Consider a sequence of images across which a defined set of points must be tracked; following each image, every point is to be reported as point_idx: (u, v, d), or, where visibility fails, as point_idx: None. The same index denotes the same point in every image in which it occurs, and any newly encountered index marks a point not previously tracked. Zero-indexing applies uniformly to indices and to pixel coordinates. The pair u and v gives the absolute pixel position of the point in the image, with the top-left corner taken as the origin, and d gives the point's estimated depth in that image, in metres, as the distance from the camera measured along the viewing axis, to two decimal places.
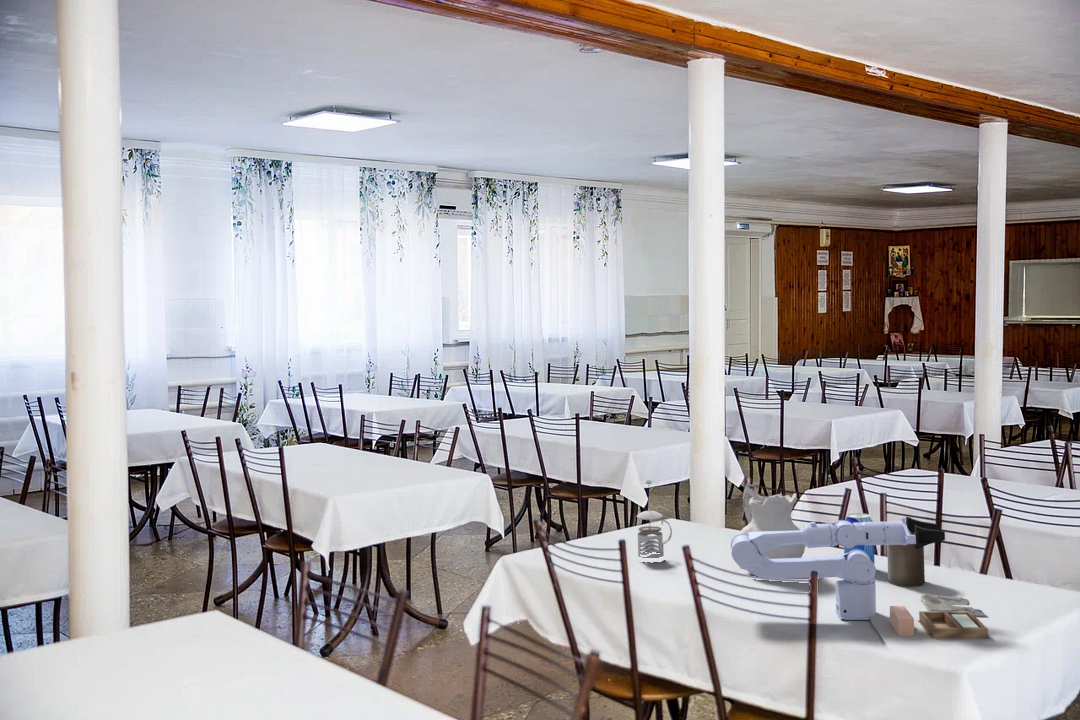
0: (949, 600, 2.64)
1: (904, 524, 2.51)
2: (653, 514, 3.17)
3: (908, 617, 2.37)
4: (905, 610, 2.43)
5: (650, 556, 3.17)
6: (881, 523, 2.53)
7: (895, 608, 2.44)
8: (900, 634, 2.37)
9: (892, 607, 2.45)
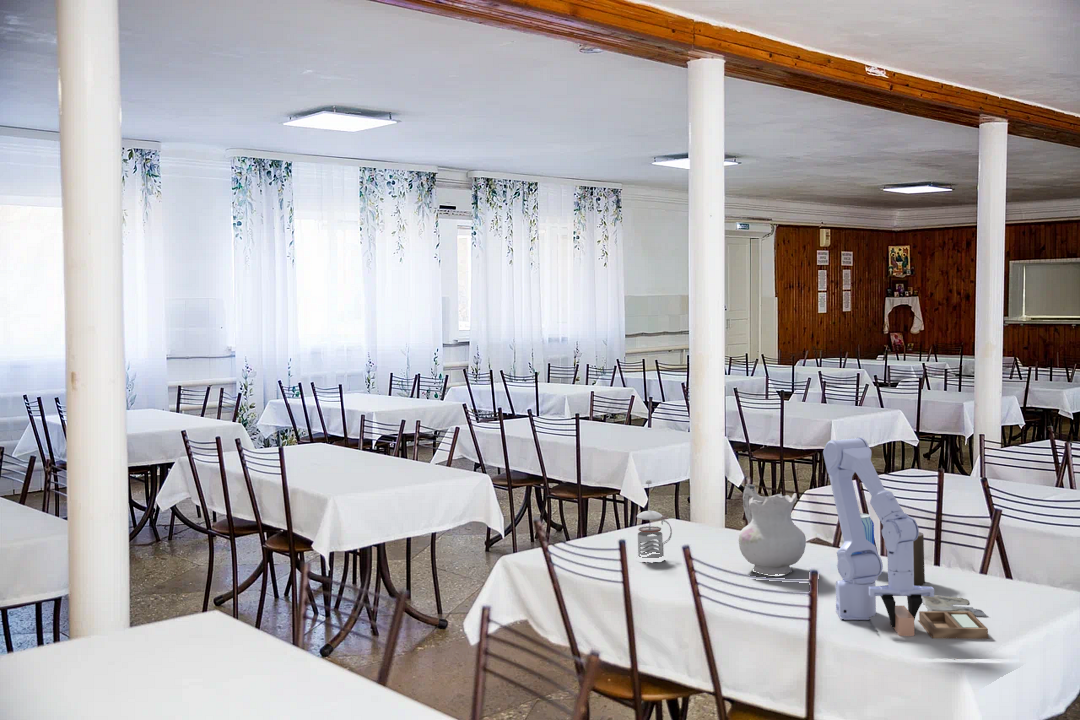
0: (949, 600, 2.64)
1: (894, 592, 2.39)
2: (653, 514, 3.17)
3: (908, 617, 2.37)
4: (905, 609, 2.43)
5: (650, 556, 3.17)
6: (905, 570, 2.38)
7: (895, 608, 2.44)
8: (900, 634, 2.37)
9: None
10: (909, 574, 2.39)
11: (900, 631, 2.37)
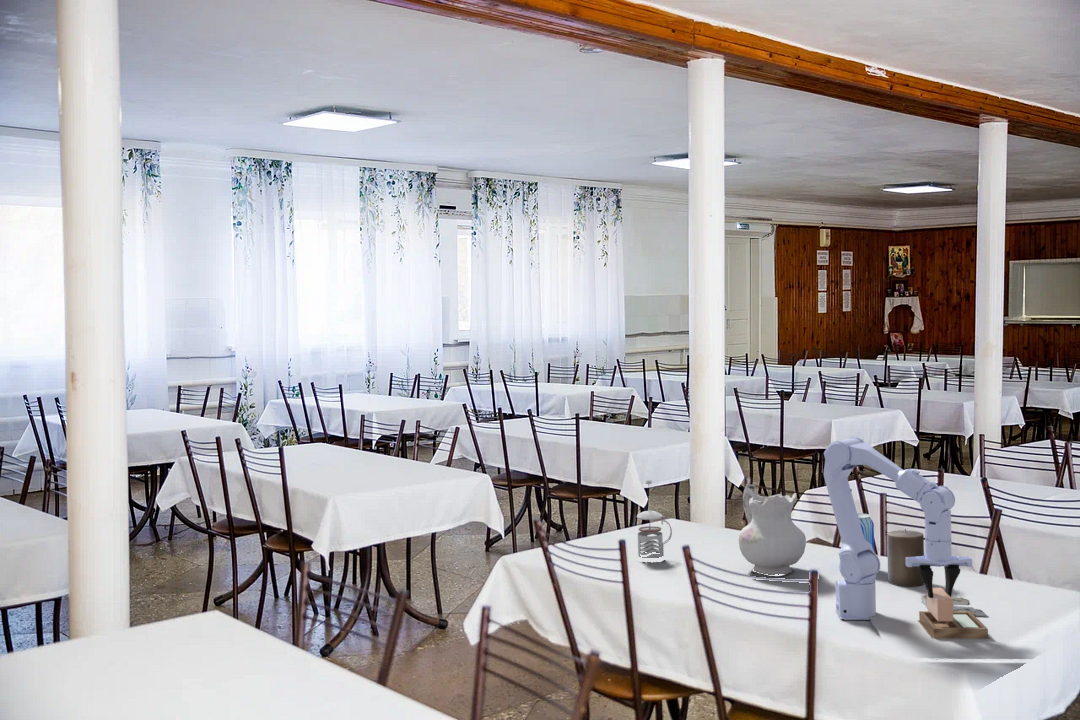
0: None
1: (932, 562, 2.38)
2: (653, 514, 3.17)
3: (947, 599, 2.35)
4: (943, 591, 2.42)
5: (650, 556, 3.17)
6: (947, 539, 2.37)
7: None
8: (939, 616, 2.35)
9: None
10: (947, 544, 2.37)
11: (939, 613, 2.35)
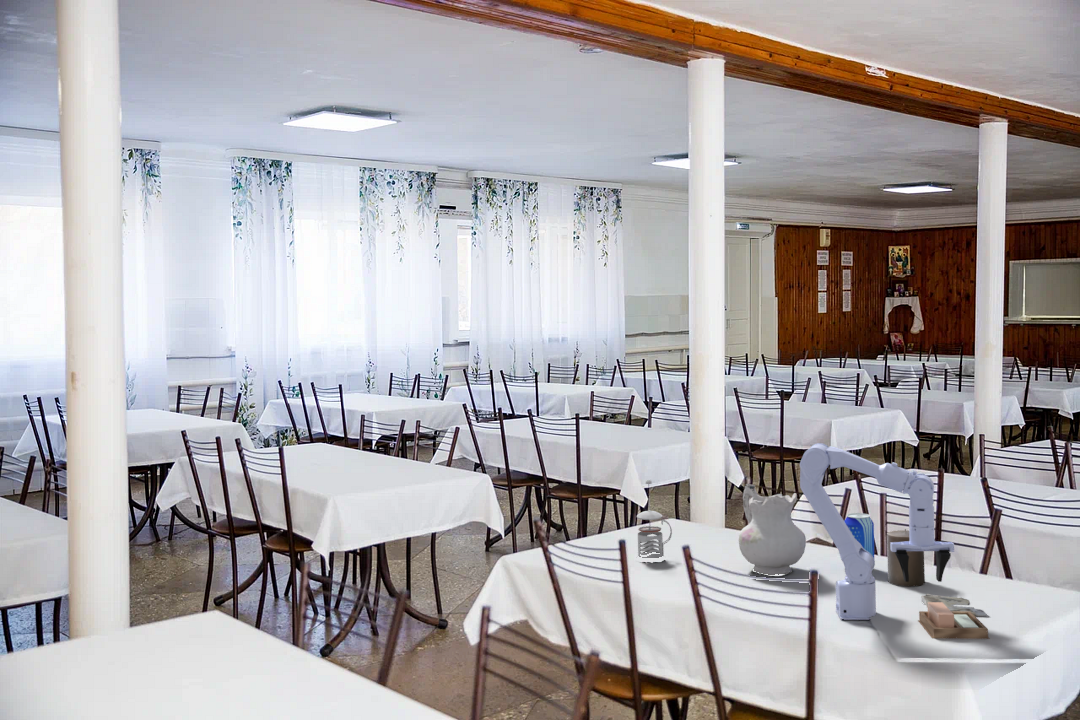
0: (950, 600, 2.64)
1: (916, 546, 2.47)
2: (653, 514, 3.17)
3: (948, 614, 2.36)
4: (944, 606, 2.42)
5: (650, 556, 3.17)
6: (933, 524, 2.47)
7: (933, 605, 2.43)
8: None
9: (930, 603, 2.44)
10: (930, 529, 2.46)
11: None
